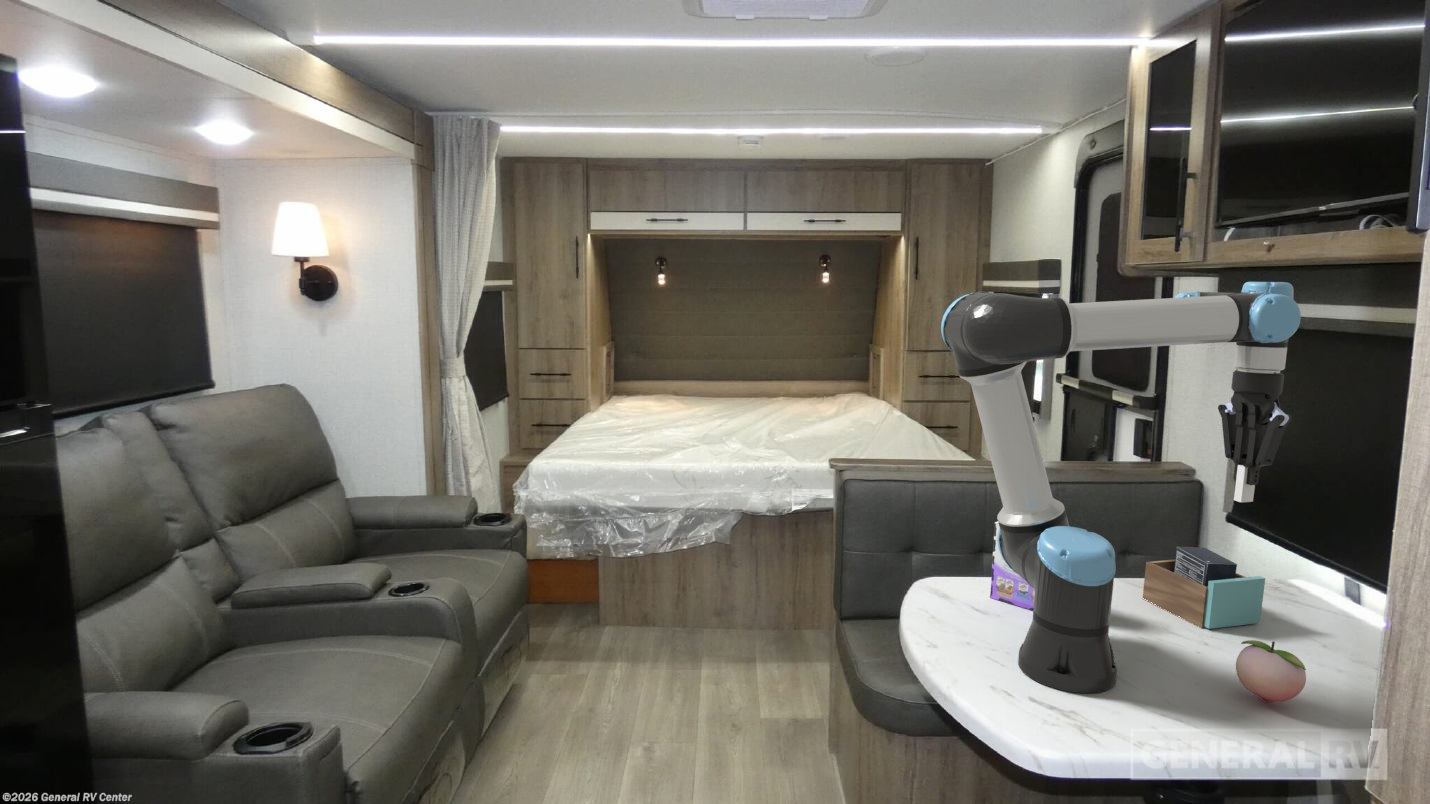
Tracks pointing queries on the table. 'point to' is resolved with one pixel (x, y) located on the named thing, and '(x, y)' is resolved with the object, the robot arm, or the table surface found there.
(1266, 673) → the decorative fruit
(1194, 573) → the small box
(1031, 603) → the candy box
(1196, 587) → the cubby
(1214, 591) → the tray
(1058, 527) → the robot arm
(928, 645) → the table surface
